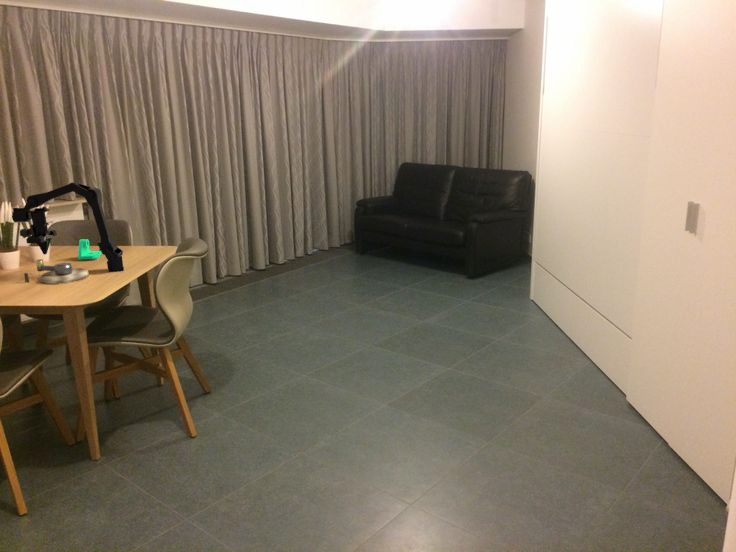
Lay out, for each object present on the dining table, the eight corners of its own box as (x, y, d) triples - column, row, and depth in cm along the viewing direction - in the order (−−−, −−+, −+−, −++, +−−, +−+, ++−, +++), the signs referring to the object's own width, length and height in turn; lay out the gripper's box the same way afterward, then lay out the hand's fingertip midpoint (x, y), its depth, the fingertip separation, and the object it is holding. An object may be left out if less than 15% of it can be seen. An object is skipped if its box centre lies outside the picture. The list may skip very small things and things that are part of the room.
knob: (75, 271, 264) (74, 259, 262) (65, 275, 257) (63, 263, 255) (44, 269, 267) (42, 258, 265) (32, 273, 260) (30, 261, 259)
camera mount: (94, 261, 293) (91, 241, 290) (78, 261, 292) (75, 241, 289) (102, 255, 304) (100, 236, 301) (88, 256, 304) (85, 237, 301)
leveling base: (89, 270, 274) (88, 262, 273) (87, 280, 256) (86, 272, 255) (28, 276, 265) (27, 268, 263) (22, 288, 247) (21, 279, 246)
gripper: (30, 218, 271) (35, 250, 276) (11, 225, 254) (17, 259, 258) (54, 217, 273) (59, 249, 277) (37, 225, 255) (43, 258, 259)
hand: (45, 254), depth 268 cm, fingers closed
